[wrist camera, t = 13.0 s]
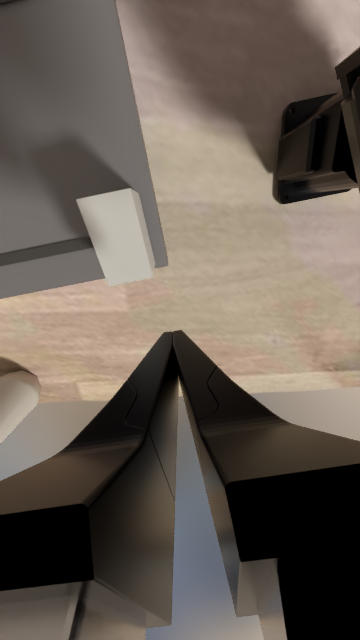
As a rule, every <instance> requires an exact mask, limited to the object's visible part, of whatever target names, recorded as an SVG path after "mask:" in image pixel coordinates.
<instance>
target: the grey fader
mask: <svg viewBox="0 0 360 640" xmlns="http://www.w3.org/2000/svg"><path fill="white" fill-rule="evenodd" d="M76 201H77V204H78V206H79V209H80V212H81V214H82V217H83V220H84V222H85V225H86V228H87V230H88V233H89V236H90V238H91V241H92V244H93V246H94V249H95V252H96V254H97V257H98V259H99V262H100V265H101V267H102V270H103V273H104V275H105V278H106V281H107V283H108V286H114V285H119V284H124V283H129V282H134V281H139V280H144V279H149V278H153V275H154V269H155V260H154V256H153V251H152V247H151V243H150V239H149V235H148V230H147V226H146V222H145V218H144V214H143V209H142V205H141V201H140V197H139V193H137V192H136V191H134V190H133V189H131V188H128V189H123V190H118V191H114V192H109V193H104V194H99V195H95V196H90V197H85V198H80V199H76Z"/></svg>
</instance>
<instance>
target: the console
mask: <svg viewBox="0 0 360 640" xmlns="http://www.w3.org/2000/svg"><path fill="white" fill-rule="evenodd" d="M128 188H131V189H133V190H134V191H136V192H137V193H139V197H140V201H141V205H142V209H143V214H144V218H145V222H146V226H147V230H148V235H149V239H150V243H151V247H152V251H153V256H154V260H155V268H159V267H164V266H168V257H167V252H166V247H165V242H164V238H163V233H162V228H161V223H160V218H159V213H158V208H157V203H156V198H155V193H154V189H153V184H152V179H151V174H150V169H149V164H148V159H147V154H146V149H145V144H144V140H143V135H142V130H141V125H140V120H139V115H138V110H137V105H136V100H135V95H134V91H133V86H132V81H131V76H130V71H129V66H128V61H127V56H126V51H125V46H124V42H123V37H122V32H121V27H120V22H119V17H118V12H117V7H116V2H115V0H0V299H2V298H7V297H12V296H17V295H22V294H27V293H32V292H37V291H42V290H47V289H52V288H58V287H63V286H68V285H73V284H78V283H83V282H88V281H93V280H98V279H103V278H105V275H104V273H103V270H102V267H101V265H100V262H99V259H98V257H97V254H96V252H95V249H94V246H93V244H92V241H91V238H90V236H89V233H88V230H87V228H86V225H85V222H84V220H83V217H82V214H81V212H80V209H79V206H78V204H77V201H76V199H80V198H85V197H90V196H95V195H99V194H104V193H109V192H114V191H118V190H123V189H128Z"/></svg>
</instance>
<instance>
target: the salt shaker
mask: <svg viewBox="0 0 360 640" xmlns="http://www.w3.org/2000/svg"><path fill="white" fill-rule="evenodd" d="M40 390H41V385H40V383H39V380H38V378H37V376H35V375H33V374H30V373H28V372H26V371H24V370H21V371H15V372H10V373H7V374H5V375H2V376H0V443H1V442H2V441H3V440H4V439H5V438H6V437H7V436H8V435H9V434H10V433H11V432H12V430H13V429H14V428H15V427H16V426H17V425H18V424H19V423H20V422H21V421H22V420H23V419H24V418H25V417H26V415H27V414H28V413H29V412H30V411H31V410H32V409H33V408H34V407H35V406H36V404H37V403H38V401H39V397H40Z"/></svg>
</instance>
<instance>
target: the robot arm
mask: <svg viewBox="0 0 360 640" xmlns="http://www.w3.org/2000/svg"><path fill="white" fill-rule="evenodd" d="M335 71H336V76H337V80H338V79H340V83H341V88H342V91H340V92H339V93H334V94H330V95H325V96H320V97H316V98H311V99H307V100H302V101H297V102H293V103H291V104H289V105H288V106H287V107H286V108H285V110H284V112H283V117H282V134H281V139H280V141H279V150H278V168H277V178H278V180H279V186H278V202H279V203H280V204H288V203H293V202H298V201H303V200H308V199H313V198H318V197H323V196H327V195H332V194H337V193H342V192H347V191H349V190H351V189H352V188H359V192H360V47H358V48H357V49H356V50H355V51H354V52H353V53H351V54H350V55H349V56H348V57H347V58H346V59H344V60H343V61H342V62H341V63H340V64H339V65H337V66H336V67H335ZM289 110H292V113H293V114H292V116H289ZM284 195H286V199H285V200H283V196H284ZM127 380H128V381H126V382H125V383H124V384H123V386H122V387H121V388H120V389H119V390H118V392H117V393H116V394H115V395H114V397H113V398H112V399H111V400H110V401H109V402H108V403H107V405H106V406H105V407H104V408H103V409H102V410H101V411H100V412H99V413H98V414H97V415H96V416H95V417H94V418H93V420H92V421H91V422H90V423H89V424H88V425H87V426H86V427H85V428H84V429H83V430H82V431H81V432H80V433H79V434H78V435H77V436H76V438H75V439H74V440H73V441H72V442H71V443H70V444H69V445H67V446H66V447H65V448H64V449H63V450H61V451H60V452H59V453H57V454H56V455H54V456H52V457H51V458H49V459H47V460H45V461H43V462H41V463H39V464H36V465H34V466H32V467H30V468H28V469H26V470H23V471H21V472H19V473H17V474H15V475H13V476H11V477H8V478H6V479H4V480H2V481H0V640H145V632H146V628H153V627H161V626H169V625H171V620H172V619H171V618H172V587H173V556H174V555H173V554H174V521H175V488H176V487H175V486H176V456H177V423H178V390H179V381H180V385H181V389H182V393H183V398H184V402H185V406H186V410H187V414H188V418H189V422H190V426H191V430H192V435H193V439H194V443H195V447H196V451H197V455H198V459H199V464H200V468H201V472H202V476H203V480H204V484H205V488H206V493H207V496H208V501H209V504H210V509H211V513H212V517H213V521H214V526H215V530H216V533H217V538H218V542H219V546H220V550H221V554H222V559H223V563H224V567H225V571H226V575H227V579H228V583H229V587H230V591H231V595H232V599H233V604H234V608H235V612H236V616H237V617H242V616H250V615H259V619H260V623H261V628H262V632H263V637H264V640H360V441H357V440H353V439H349V438H345V437H340V436H337V435H333V434H329V433H325V432H321V431H317V430H314V429H310V428H306V427H301V426H298V425H295V424H292V423H289V422H287V421H285V420H283V419H282V418H280V417H279V416H277V415H276V414H274V413H272V412H271V411H270V410H269V409H268V408H266V407H265V406H264V405H262V404H261V403H260V402H259V401H257V400H256V399H255V398H253V397H252V396H251V395H250V394H248V393H247V392H246V391H244V390H243V389H242V388H241V387H239V386H238V385H237V384H236V383H235V382H233V381H232V380H231V379H230V378H229V377H228V376H227V375H226V374H225V373H224V372H223V371H222V370H221V369H220V368H219V367H218V366H217V365H216V364H215V363H214V362H213V361H212V360H211V359H210V358H209V357H208V356H207V355H206V354H205V353H204V352H203V351H202V350H201V349H200V348H199V347H198V346H197V345H196V344H195V343H194V342H193V341H192V340H191V339H190V338H189V337H188V336H187V335H186V334H185V333H184V332H183V331H182V330H178V331H173V332H164V333H163V334H162V335H161V337H160V338H159V339H158V340H157V342H156V343H155V344H154V346H153V347H152V348H151V349H150V351H149V352H148V353H147V355H146V356H145V357H144V358H143V360H142V361H141V362H140V364H139V365H138V366H137V368H136V369H135V370H134V371H133V373H132V374H131V375H130V377H129V378H128V379H127Z"/></svg>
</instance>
